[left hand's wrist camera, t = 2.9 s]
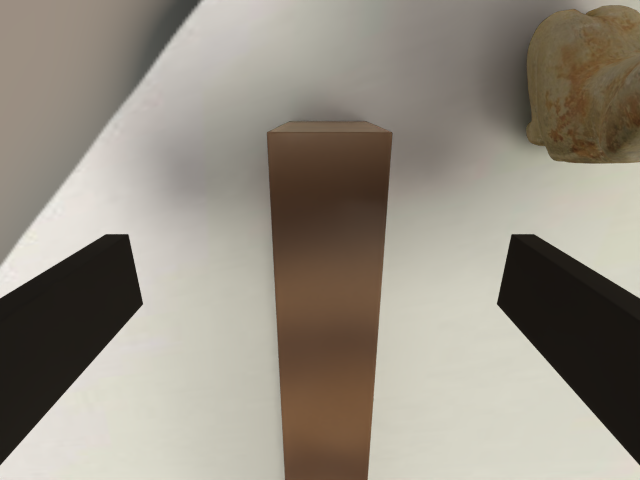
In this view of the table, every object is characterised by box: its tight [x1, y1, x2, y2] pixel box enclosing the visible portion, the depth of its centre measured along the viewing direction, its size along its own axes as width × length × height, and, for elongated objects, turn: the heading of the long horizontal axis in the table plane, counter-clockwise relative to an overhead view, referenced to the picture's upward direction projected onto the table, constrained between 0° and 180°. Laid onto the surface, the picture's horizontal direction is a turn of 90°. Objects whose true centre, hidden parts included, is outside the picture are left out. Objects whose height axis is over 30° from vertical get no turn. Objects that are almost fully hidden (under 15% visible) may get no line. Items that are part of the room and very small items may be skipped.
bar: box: [267, 121, 392, 480], centre depth 23 cm, size 36×5×8 cm, turn 0°
